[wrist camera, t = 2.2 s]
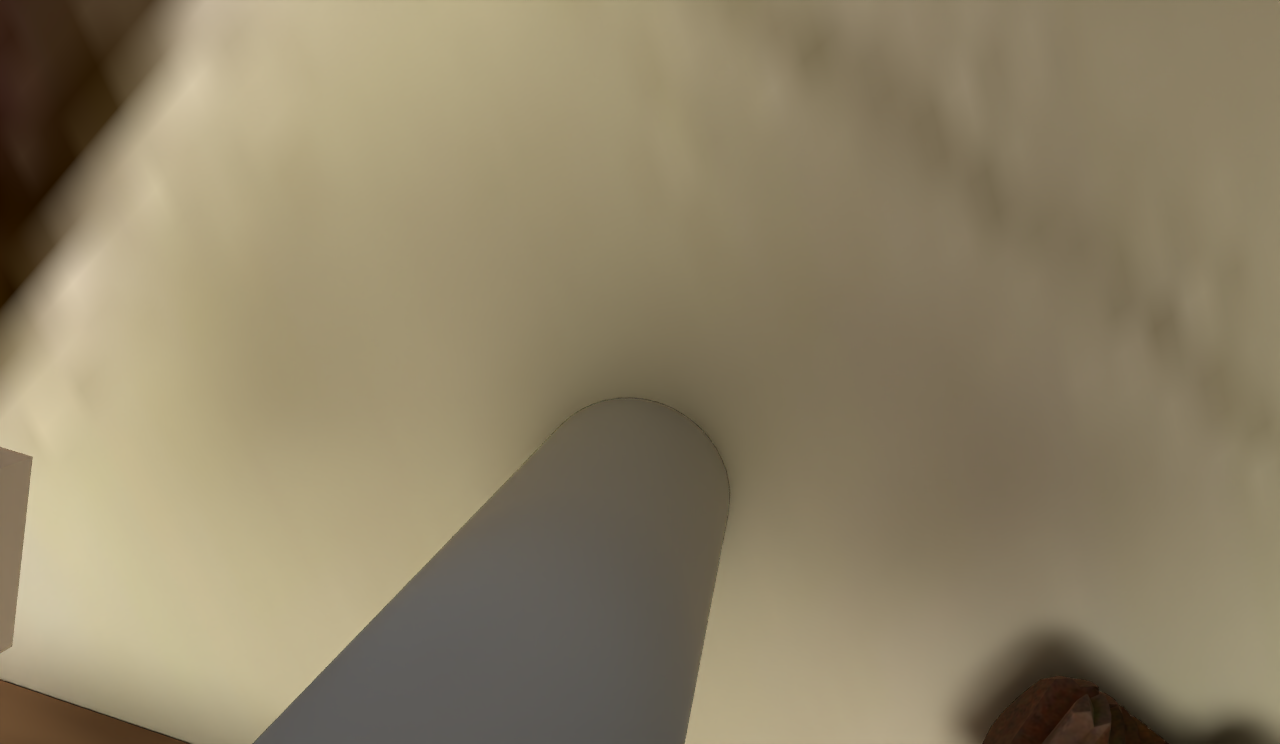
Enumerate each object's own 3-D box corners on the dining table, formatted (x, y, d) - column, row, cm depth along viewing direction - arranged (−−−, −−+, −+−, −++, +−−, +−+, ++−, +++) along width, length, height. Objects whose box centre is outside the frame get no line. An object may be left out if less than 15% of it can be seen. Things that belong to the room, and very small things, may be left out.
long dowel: (752, 429, 18) (645, 1116, 5) (700, 610, 19) (488, 1622, 6) (559, 374, 19) (-49, 865, 5) (517, 554, 20) (-95, 1376, 6)
